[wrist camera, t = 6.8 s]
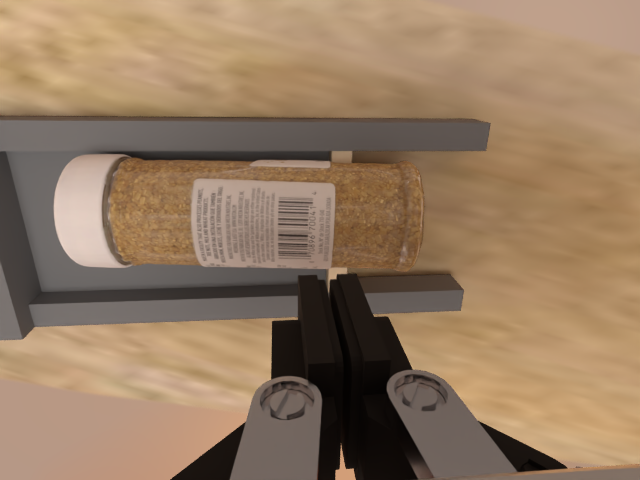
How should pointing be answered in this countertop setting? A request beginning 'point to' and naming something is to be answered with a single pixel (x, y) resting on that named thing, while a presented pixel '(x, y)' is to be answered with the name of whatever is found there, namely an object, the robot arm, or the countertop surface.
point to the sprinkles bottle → (239, 213)
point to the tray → (185, 280)
